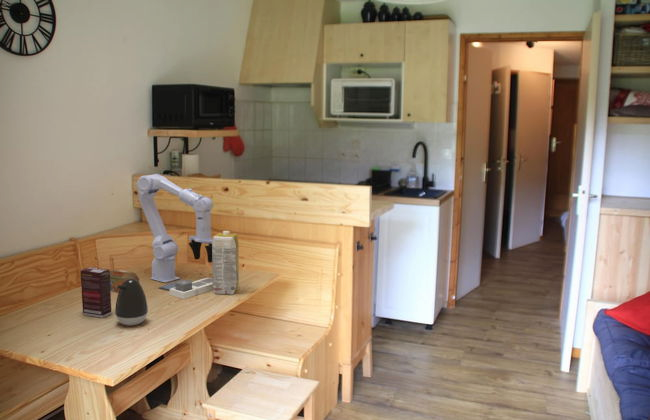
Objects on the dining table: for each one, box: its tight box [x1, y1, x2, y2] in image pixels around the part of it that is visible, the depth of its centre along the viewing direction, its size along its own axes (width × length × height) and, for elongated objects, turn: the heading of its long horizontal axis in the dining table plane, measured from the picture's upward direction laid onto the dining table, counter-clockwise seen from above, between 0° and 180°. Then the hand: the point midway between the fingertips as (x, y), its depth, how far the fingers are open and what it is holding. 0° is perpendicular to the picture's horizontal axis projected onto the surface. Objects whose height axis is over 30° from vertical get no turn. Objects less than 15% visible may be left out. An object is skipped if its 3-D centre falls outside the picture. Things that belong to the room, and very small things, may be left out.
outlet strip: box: [168, 276, 214, 300], centre depth 225 cm, size 8×24×3 cm, turn 146°
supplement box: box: [80, 266, 112, 319], centre depth 194 cm, size 9×5×16 cm, turn 71°
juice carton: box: [211, 230, 240, 295], centre depth 221 cm, size 9×8×24 cm
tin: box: [110, 269, 140, 294], centre depth 220 cm, size 15×3×8 cm, turn 69°
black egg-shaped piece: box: [114, 278, 149, 327], centre depth 187 cm, size 10×10×15 cm
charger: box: [175, 279, 192, 292], centre depth 218 cm, size 4×4×5 cm
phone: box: [158, 278, 194, 292], centre depth 230 cm, size 7×14×1 cm, turn 152°
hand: (203, 260), depth 231 cm, fingers open, 7 cm apart
